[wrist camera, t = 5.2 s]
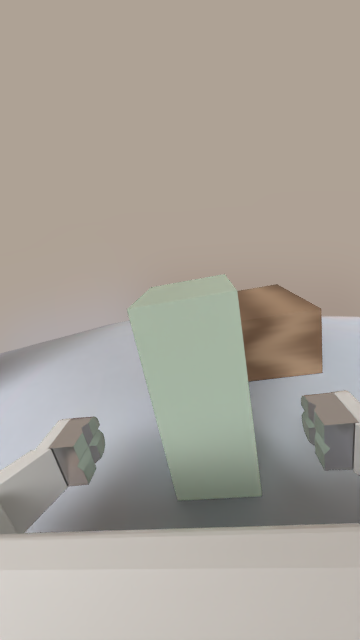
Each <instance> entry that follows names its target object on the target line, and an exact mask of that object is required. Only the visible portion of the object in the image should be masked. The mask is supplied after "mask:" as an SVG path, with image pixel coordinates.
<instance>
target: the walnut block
mask: <svg viewBox="0 0 360 640" xmlns="http://www.w3.org/2000/svg"><path fill="white" fill-rule="evenodd" d="M237 293H238V301H239V309H240V318H241V326H242V334H243V342H244V351H245V359H246V367H247V375H248V381H256V380H264V379H273V378H281V377H290V376H299V375H307V374H316V373H322V322H321V308H319V307H317V306H315V305H313V304H312V303H310V302H308V301H306V300H304V299H303V298H301V297H299V296H297V295H295V294H293V293H292V292H290V291H288V290H286V289H284V288H283V287H281V286H279V285H271V286H265V287H259V288H253V289H247V290H241V291H237Z"/></svg>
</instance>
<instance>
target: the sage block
mask: <svg viewBox="0 0 360 640" xmlns="http://www.w3.org/2000/svg"><path fill="white" fill-rule="evenodd" d="M127 311H128V315H129V319H130V323H131V327H132V330H133V334H134V338H135V342H136V345H137V349H138V353H139V357H140V361H141V364H142V368H143V372H144V376H145V379H146V383H147V387H148V391H149V394H150V398H151V402H152V406H153V410H154V413H155V417H156V421H157V425H158V428H159V432H160V436H161V440H162V443H163V447H164V451H165V455H166V459H167V462H168V466H169V470H170V474H171V477H172V481H173V485H174V489H175V492H176V496H177V500H178V501H182V500H202V499H221V498H240V497H260V496H262V491H261V483H260V474H259V466H258V458H257V450H256V441H255V433H254V425H253V417H252V408H251V400H250V392H249V384H248V375H247V367H246V359H245V351H244V342H243V334H242V326H241V318H240V309H239V301H238V293H237V290H236V288H235V287H234V286H233V284H232V283H231V282H230V280H229V279H228V278H227V276H226V275H225V274H223V275H217V276H212V277H206V278H201V279H195V280H189V281H184V282H178V283H173V284H167V285H162V286H156V287H151V288H150V289H149V290H148V291H146V292H145V293H144V294H143V295H142V296H141V297H140V298H139V299H138V300H136V301H135V302H134V303H133V304H132V305H131V306H130V307H129V308H128V309H127Z"/></svg>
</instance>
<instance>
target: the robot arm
mask: <svg viewBox="0 0 360 640" xmlns="http://www.w3.org/2000/svg"><path fill="white" fill-rule="evenodd" d="M301 406H302V407H303V409H304V411H305V412H304V413H303V414H302V424H303V428H304V432H305V434H306V437H307V439H308V441H309V442H310V443H311V444H313V445H314V446H315V454H316V455H317V457H318V459H319V461H320V463H321V464H322V466H323V468H324V470H325V471H328V470H353V471H354V472H355V473H357V474H358V475H359V476H360V402H359V401H358V400H357V399H356V398H355V397H354V396H353V395H352V394H351V393H350V392H348V391H346V390H344V391H336V392H331V393H323V394H314V395H304V396H302V398H301ZM99 425H100V424H99V421H98V419H97V418H96V417H82V418H72V419H62V420H60V421H58V422H57V423H56V425H55V426H54V427H53V428H52V430H51V431H50V432H49V433H48V434H47V436H46V437H45V438H44V439H43V441H42V442H41V443H40V444H39V446H38V447H37V448H36V449H35V450H32V451H30V452H28V453H27V454H25V455H24V456H22V457H21V458H19V459H18V460H16V461H15V462H13V463H12V464H10V465H8V466H7V467H5V468H4V469H2V470H1V471H0V640H360V523H345V524H312V525H279V526H246V527H214V528H180V529H147V530H114V531H81V532H48V533H24V532H25V531H26V530H27V529H28V528H29V527H30V526H31V525H32V524H33V523H34V522H35V521H36V520H37V519H38V518H39V517H40V516H41V515H42V514H43V513H44V512H45V511H46V510H47V509H48V508H49V507H50V506H51V505H52V504H53V503H54V502H55V500H56V499H57V498H58V497H59V496H60V495H61V494H62V493H63V492H64V491H65V490H66V489H67V488H68V486H79V485H89V483H90V481H91V479H92V477H93V474H94V472H95V470H96V465H95V463H96V462H97V461H98V460H100V459H101V457H102V455H103V453H104V448H105V439H104V435H103V433H102V432H101V431H100V430H98V428H99Z"/></svg>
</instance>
